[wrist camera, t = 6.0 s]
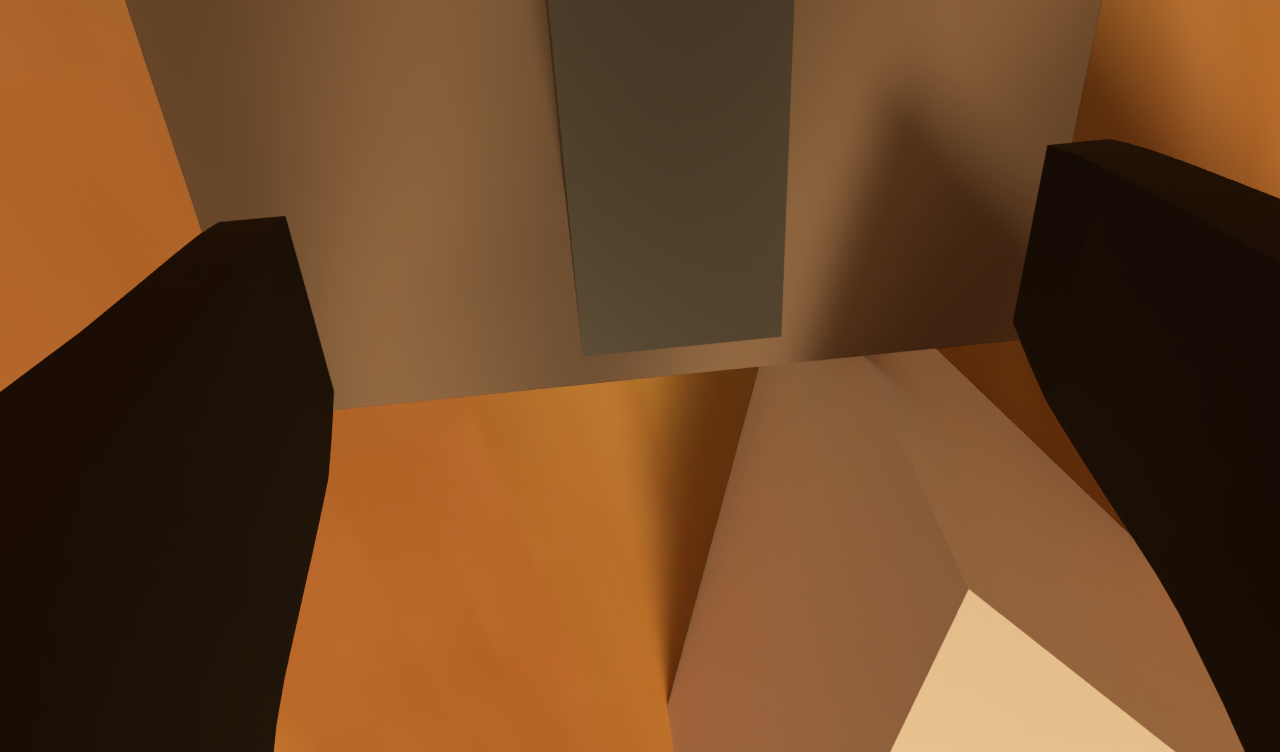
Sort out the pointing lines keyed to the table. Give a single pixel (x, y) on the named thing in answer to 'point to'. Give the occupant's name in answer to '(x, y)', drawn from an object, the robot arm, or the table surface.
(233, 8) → the lid
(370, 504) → the table surface
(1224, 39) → the table surface
